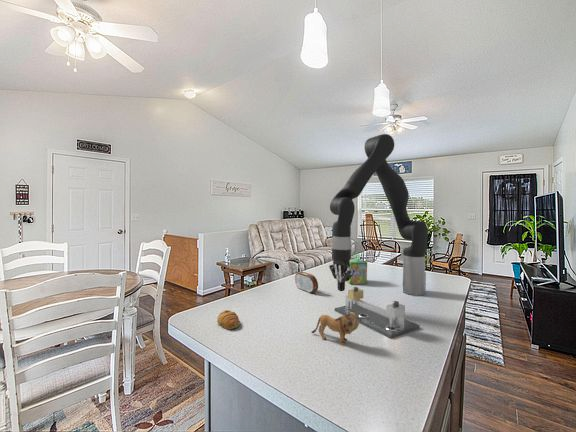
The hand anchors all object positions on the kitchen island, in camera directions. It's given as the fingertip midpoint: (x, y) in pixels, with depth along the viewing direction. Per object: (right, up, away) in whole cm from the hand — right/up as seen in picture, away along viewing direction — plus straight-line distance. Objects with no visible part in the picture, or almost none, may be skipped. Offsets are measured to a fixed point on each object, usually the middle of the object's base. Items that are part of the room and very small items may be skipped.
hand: (341, 290), depth 112 cm
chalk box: (+14, -5, +35) cm, 38 cm away
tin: (-13, -6, +20) cm, 25 cm away
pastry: (-41, -7, -17) cm, 45 cm away
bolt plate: (+9, -7, -13) cm, 17 cm away
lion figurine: (-7, -7, -28) cm, 30 cm away
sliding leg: (+4, -5, -7) cm, 9 cm away
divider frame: (+8, -5, -14) cm, 17 cm away
